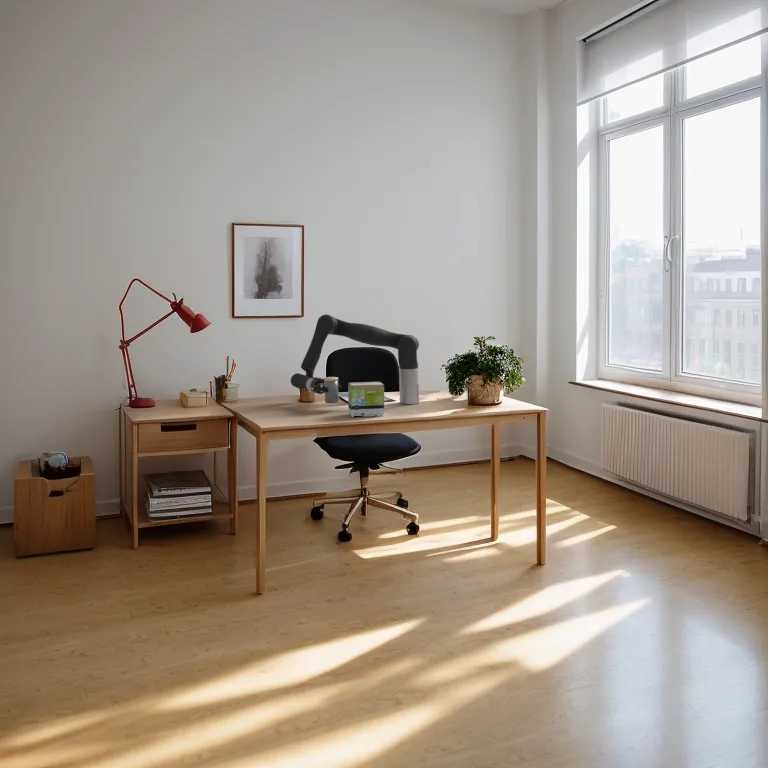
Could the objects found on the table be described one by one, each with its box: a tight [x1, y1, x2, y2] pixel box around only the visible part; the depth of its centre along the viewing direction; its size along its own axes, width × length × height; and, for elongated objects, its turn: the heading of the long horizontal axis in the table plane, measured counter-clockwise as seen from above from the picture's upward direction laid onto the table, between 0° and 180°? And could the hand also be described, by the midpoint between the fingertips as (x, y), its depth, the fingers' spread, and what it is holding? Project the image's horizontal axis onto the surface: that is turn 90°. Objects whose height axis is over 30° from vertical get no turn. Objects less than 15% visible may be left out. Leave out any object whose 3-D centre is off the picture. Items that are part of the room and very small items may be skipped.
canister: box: [323, 376, 340, 404], centre depth 375 cm, size 7×7×11 cm
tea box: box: [347, 381, 385, 418], centre depth 364 cm, size 15×10×15 cm, turn 101°
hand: (333, 389), depth 373 cm, fingers closed on canister, 6 cm apart
